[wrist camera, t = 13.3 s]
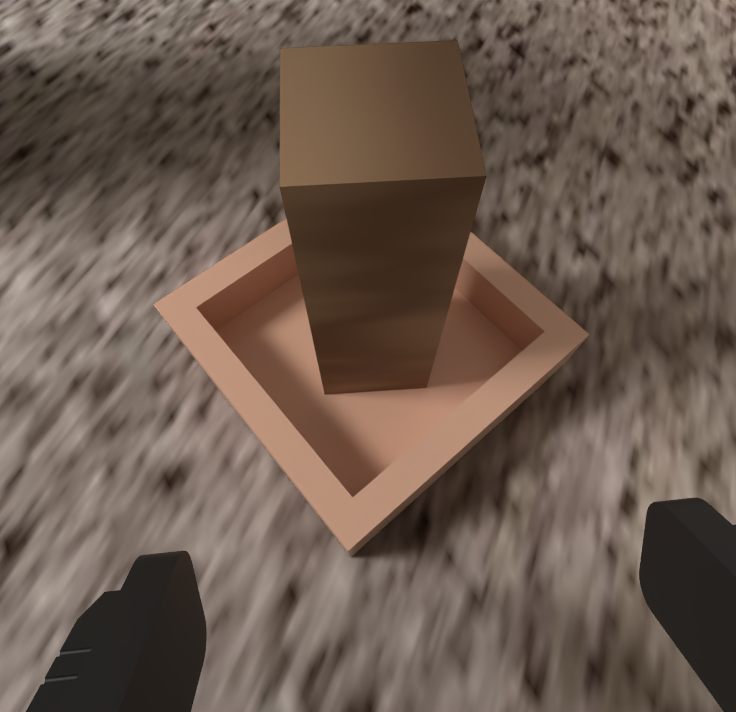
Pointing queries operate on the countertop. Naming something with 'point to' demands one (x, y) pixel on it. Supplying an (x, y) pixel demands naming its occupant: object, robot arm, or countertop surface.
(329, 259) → the tall wooden block
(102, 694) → the robot arm
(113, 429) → the countertop surface
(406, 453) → the shallow salmon tray
